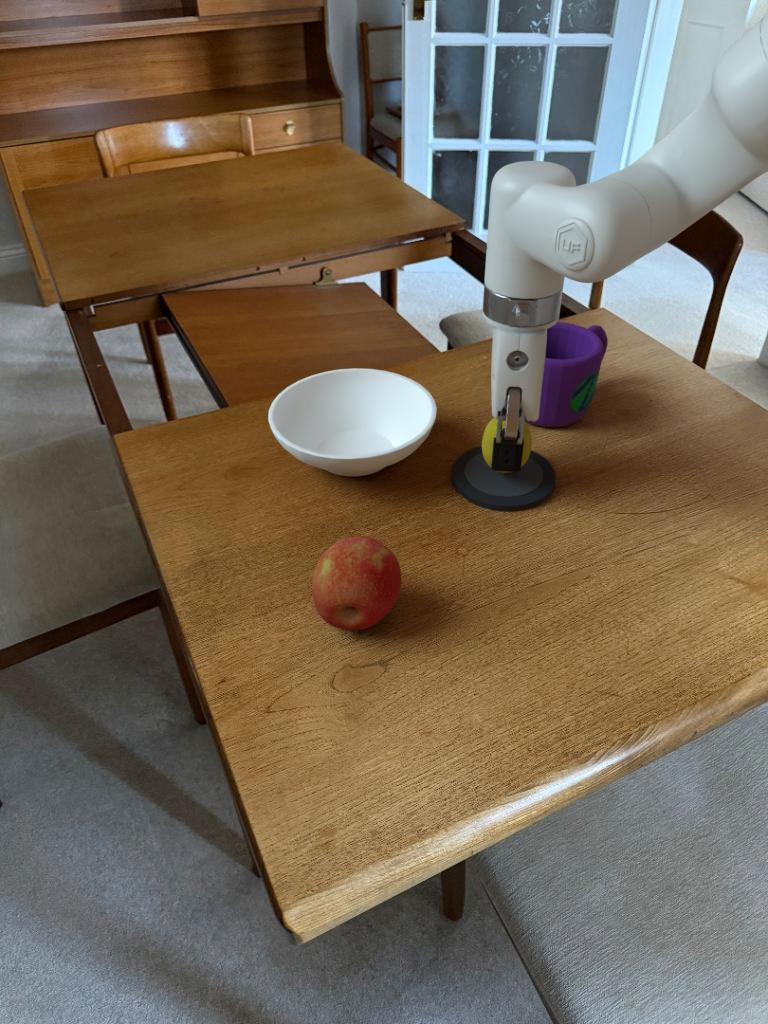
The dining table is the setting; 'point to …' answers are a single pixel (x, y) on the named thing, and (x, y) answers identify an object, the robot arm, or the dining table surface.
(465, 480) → the plate
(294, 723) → the dining table surface
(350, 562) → the apple
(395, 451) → the bowl
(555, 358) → the mug
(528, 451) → the lemon
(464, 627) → the dining table surface
